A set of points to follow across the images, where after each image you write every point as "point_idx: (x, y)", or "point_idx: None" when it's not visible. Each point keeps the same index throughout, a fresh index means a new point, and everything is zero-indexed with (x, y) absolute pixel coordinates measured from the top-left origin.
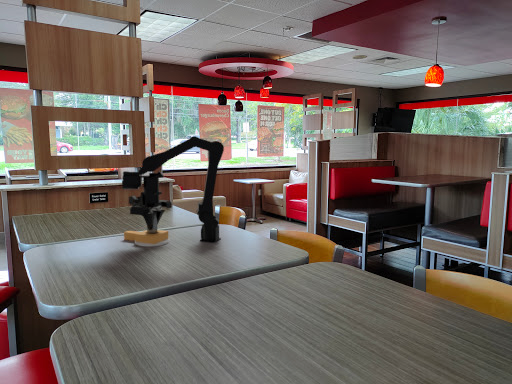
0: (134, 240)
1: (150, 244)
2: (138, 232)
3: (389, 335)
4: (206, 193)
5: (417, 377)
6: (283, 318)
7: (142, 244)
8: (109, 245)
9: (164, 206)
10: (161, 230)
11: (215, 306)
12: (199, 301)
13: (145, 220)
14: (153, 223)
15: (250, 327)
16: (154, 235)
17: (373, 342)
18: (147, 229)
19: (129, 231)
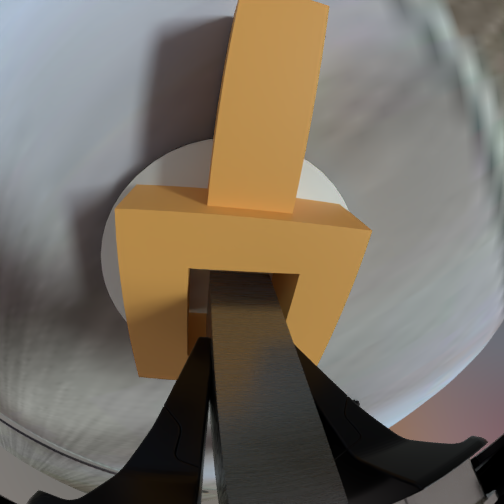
0: (216, 116)
1: (126, 320)
2: (277, 137)
3: (86, 488)
4: None
5: (59, 481)
6: (53, 468)
7: (103, 274)
8: (61, 29)
9: (494, 448)
10: (324, 339)
11: (21, 444)
12: (14, 436)
13: (154, 427)
14: (211, 427)
15: (25, 454)
16: (156, 370)
17: (72, 483)
18: (210, 318)
19: (293, 21)
